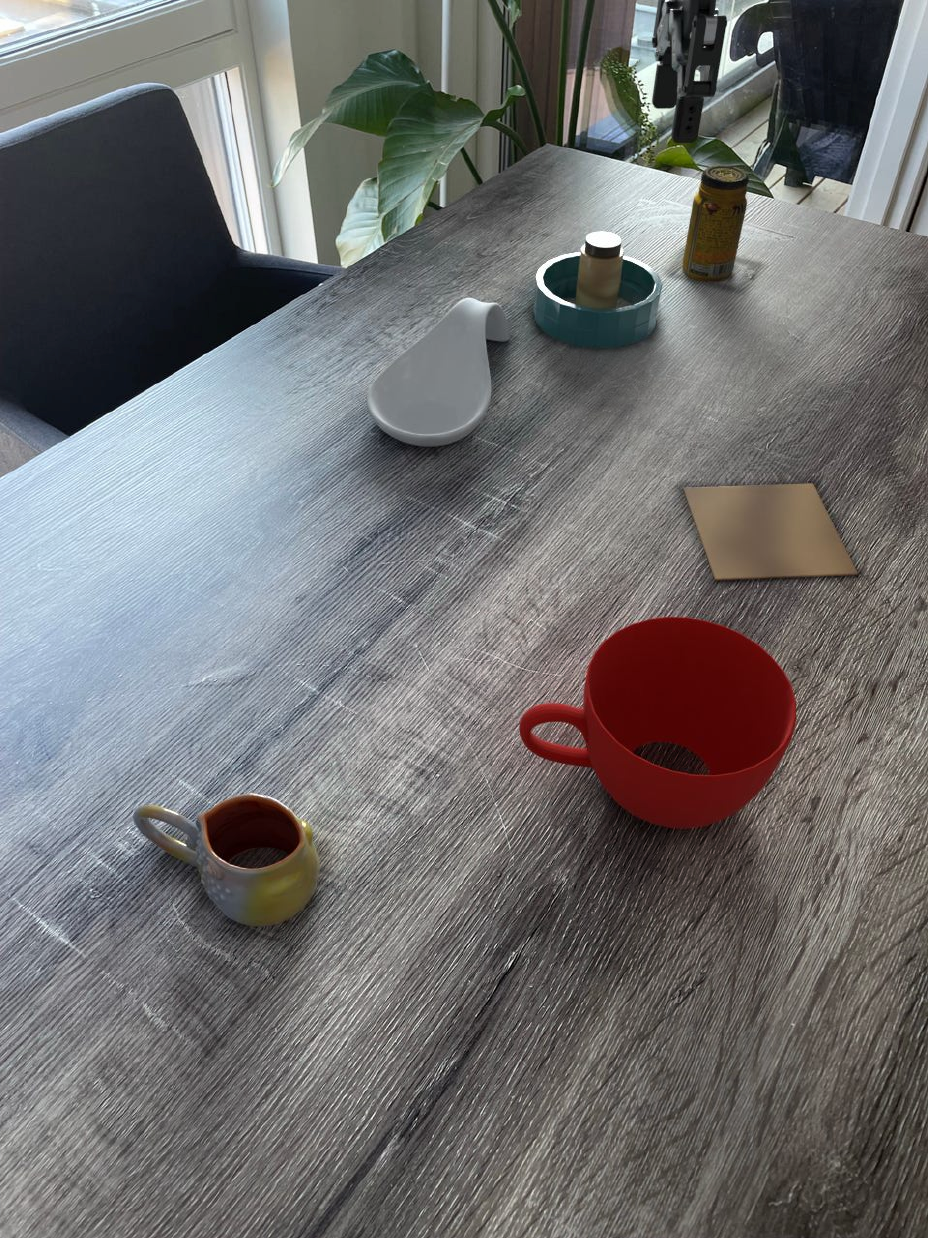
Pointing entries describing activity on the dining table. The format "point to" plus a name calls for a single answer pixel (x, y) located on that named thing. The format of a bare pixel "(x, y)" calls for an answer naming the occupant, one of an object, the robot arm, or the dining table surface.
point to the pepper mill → (600, 271)
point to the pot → (595, 323)
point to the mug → (234, 832)
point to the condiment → (716, 224)
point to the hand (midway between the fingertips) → (673, 123)
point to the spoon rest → (440, 378)
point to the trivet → (767, 532)
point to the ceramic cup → (676, 719)
